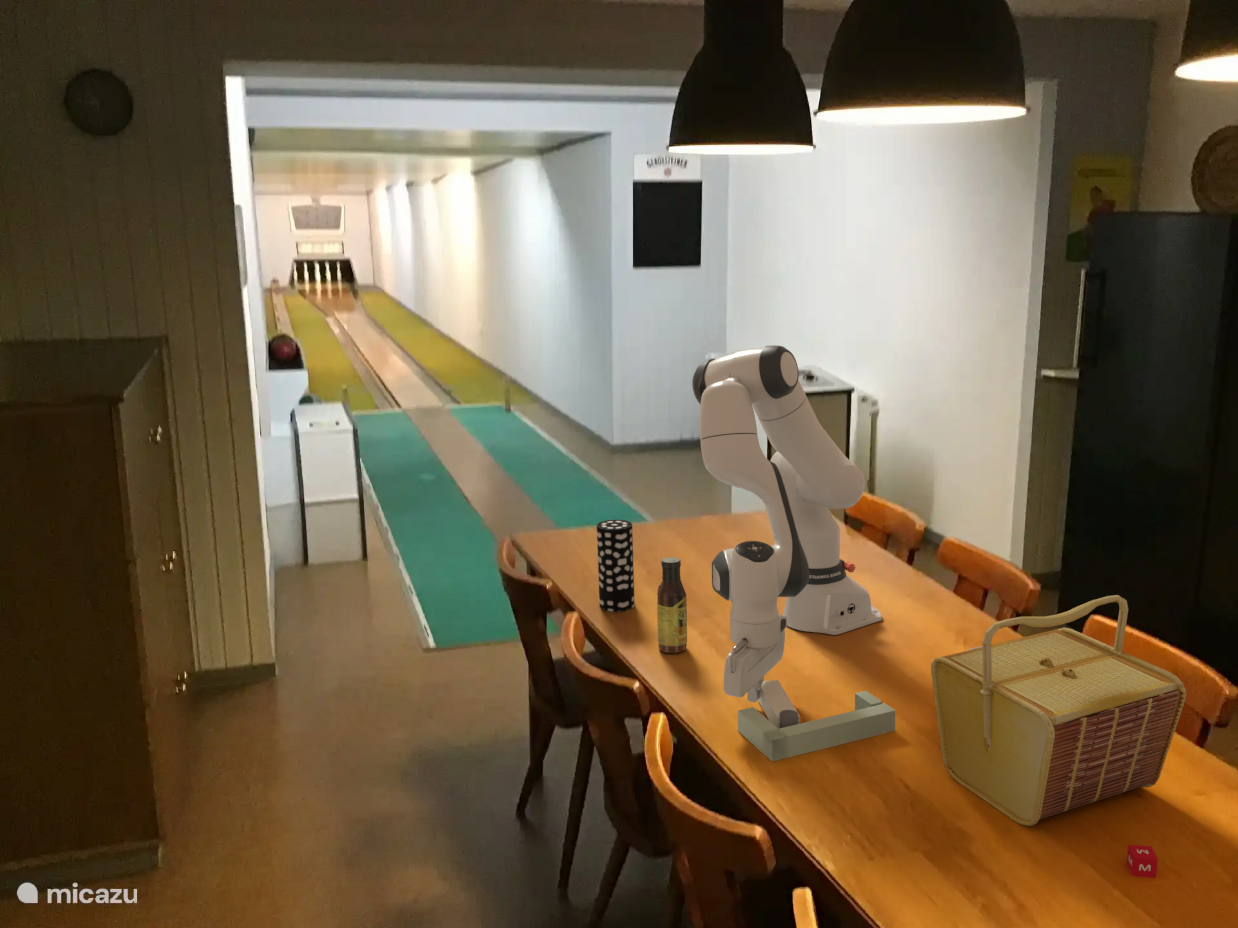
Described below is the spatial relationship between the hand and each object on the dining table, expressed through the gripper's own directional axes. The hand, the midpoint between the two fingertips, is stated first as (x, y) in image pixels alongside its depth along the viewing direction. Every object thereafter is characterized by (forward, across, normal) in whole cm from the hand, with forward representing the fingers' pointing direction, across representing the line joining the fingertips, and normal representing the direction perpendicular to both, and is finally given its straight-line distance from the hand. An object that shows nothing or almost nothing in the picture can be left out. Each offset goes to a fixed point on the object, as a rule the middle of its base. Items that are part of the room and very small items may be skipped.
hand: (754, 699), depth 199 cm
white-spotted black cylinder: (+2, +35, +50) cm, 61 cm away
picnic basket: (+2, -3, -52) cm, 52 cm away
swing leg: (+2, -2, -6) cm, 6 cm away
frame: (+2, -3, -13) cm, 14 cm away
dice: (+2, -21, -67) cm, 70 cm away
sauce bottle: (+2, +18, +26) cm, 32 cm away
